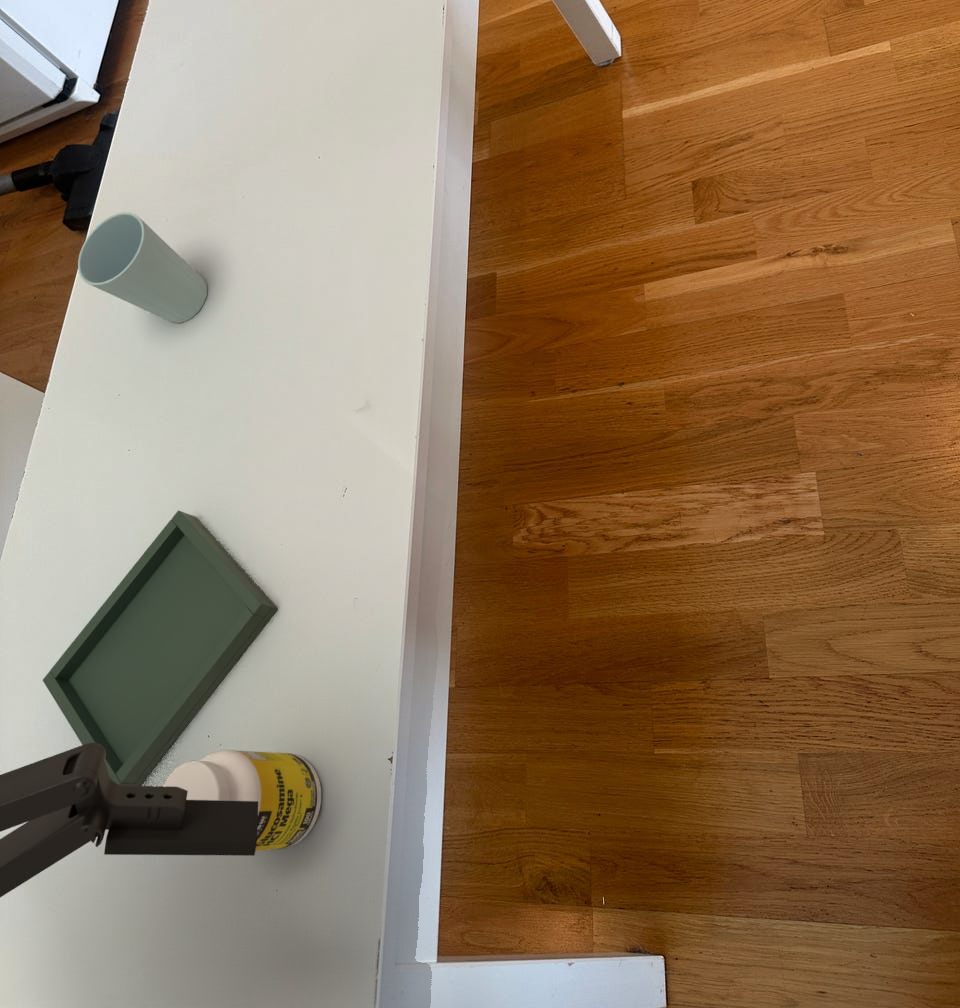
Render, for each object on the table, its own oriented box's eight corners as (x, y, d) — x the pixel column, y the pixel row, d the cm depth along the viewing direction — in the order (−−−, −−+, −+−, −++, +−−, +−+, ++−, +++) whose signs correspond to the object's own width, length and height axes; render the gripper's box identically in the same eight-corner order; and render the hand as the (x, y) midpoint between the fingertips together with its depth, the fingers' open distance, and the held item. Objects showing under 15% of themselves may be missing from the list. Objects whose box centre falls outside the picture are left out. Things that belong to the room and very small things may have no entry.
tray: (134, 793, 69) (112, 794, 67) (63, 682, 76) (41, 680, 74) (278, 608, 70) (261, 603, 68) (195, 516, 77) (178, 509, 75)
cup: (143, 309, 91) (65, 260, 82) (192, 254, 91) (119, 199, 83) (177, 346, 87) (99, 298, 78) (229, 288, 87) (156, 234, 79)
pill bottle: (313, 857, 61) (212, 870, 52) (243, 837, 64) (135, 847, 55) (333, 761, 63) (239, 758, 54) (264, 746, 66) (163, 740, 57)
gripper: (-212, 647, 39) (275, 675, 44) (-244, 1113, 43) (205, 1088, 48) (-323, 753, 32) (274, 772, 37) (-349, 1301, 36) (192, 1246, 41)
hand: (236, 950), depth 43 cm, fingers open, 13 cm apart
